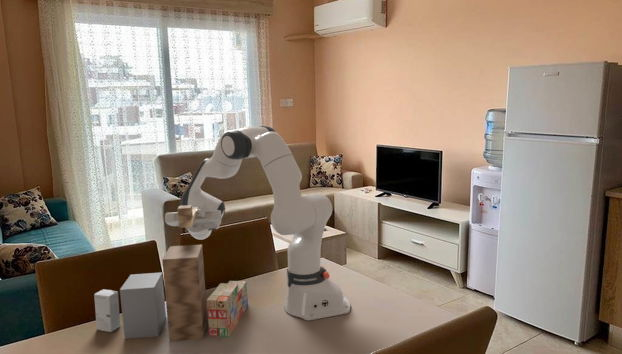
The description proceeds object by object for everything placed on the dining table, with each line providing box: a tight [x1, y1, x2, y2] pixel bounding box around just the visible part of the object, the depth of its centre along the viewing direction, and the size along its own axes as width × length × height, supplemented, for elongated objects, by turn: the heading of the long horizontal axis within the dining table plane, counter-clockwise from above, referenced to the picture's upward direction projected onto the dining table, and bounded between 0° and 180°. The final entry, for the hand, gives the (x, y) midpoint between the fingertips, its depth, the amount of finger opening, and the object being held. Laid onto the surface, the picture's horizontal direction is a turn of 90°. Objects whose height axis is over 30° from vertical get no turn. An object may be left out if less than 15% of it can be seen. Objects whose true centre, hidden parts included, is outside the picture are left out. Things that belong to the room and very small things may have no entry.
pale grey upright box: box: [119, 271, 167, 340], centre depth 141 cm, size 10×12×16 cm
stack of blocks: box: [206, 280, 249, 338], centre depth 146 cm, size 21×6×12 cm, turn 171°
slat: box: [177, 205, 198, 229], centre depth 153 cm, size 4×18×6 cm, turn 7°
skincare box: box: [93, 288, 121, 333], centre depth 142 cm, size 6×4×12 cm
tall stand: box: [162, 244, 208, 343], centre depth 138 cm, size 10×12×26 cm
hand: (190, 212), depth 158 cm, fingers closed on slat, 4 cm apart
